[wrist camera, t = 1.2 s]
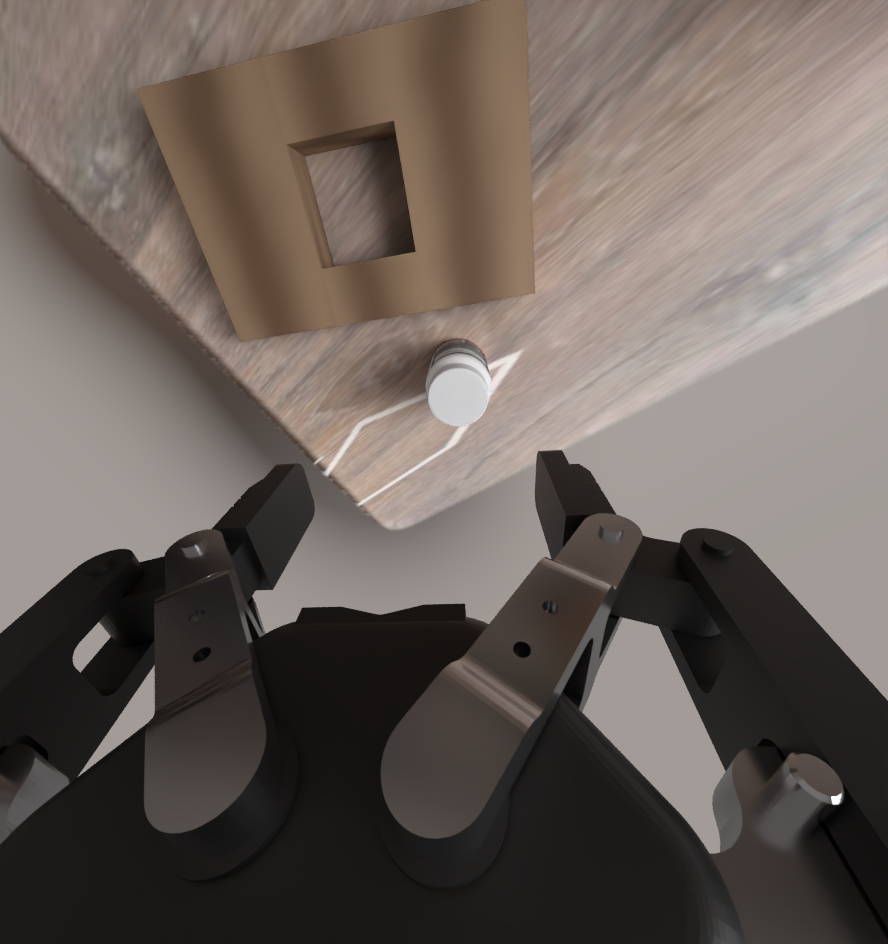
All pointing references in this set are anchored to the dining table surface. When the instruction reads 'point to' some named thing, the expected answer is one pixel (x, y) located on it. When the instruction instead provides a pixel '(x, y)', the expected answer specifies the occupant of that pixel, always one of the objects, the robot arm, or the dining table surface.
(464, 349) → the pill bottle
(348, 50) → the board
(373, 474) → the dining table surface
